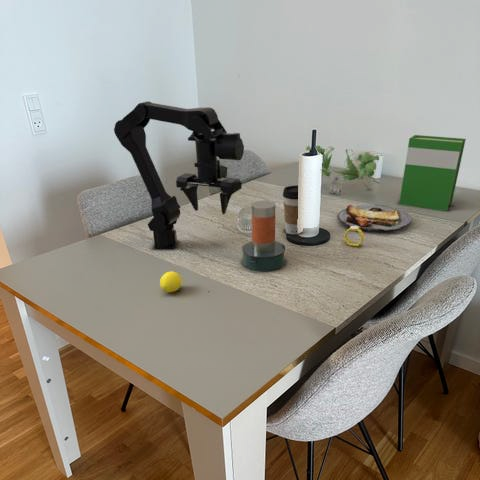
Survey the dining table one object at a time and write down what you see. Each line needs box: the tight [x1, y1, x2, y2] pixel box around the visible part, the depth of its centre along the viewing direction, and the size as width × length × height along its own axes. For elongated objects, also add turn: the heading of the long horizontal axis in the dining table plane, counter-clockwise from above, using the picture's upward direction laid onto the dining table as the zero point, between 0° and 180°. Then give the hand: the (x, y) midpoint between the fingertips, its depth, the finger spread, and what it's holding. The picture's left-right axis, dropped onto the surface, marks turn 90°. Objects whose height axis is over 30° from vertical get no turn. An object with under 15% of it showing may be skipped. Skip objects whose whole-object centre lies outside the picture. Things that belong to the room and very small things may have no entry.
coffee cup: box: [282, 185, 299, 236], centre depth 154 cm, size 8×8×15 cm
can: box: [250, 200, 276, 253], centre depth 132 cm, size 7×7×13 cm
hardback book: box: [398, 134, 467, 212], centre depth 172 cm, size 18×7×24 cm, turn 58°
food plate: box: [336, 204, 413, 232], centre depth 163 cm, size 25×23×4 cm
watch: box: [343, 226, 365, 247], centre depth 145 cm, size 6×3×6 cm, turn 57°
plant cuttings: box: [305, 145, 381, 195], centre depth 193 cm, size 35×17×22 cm
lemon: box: [159, 270, 183, 293], centre depth 123 cm, size 7×5×5 cm
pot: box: [241, 240, 286, 272], centre depth 137 cm, size 13×16×4 cm
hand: (210, 212), depth 138 cm, fingers open, 9 cm apart
